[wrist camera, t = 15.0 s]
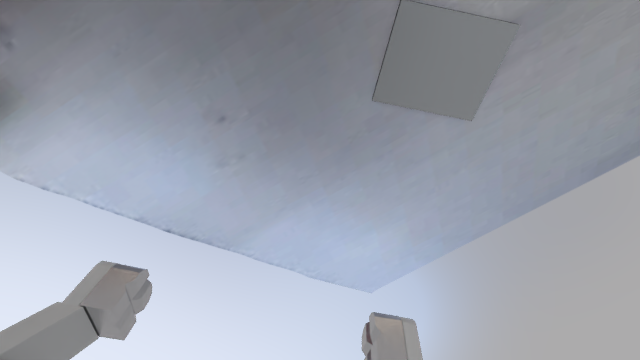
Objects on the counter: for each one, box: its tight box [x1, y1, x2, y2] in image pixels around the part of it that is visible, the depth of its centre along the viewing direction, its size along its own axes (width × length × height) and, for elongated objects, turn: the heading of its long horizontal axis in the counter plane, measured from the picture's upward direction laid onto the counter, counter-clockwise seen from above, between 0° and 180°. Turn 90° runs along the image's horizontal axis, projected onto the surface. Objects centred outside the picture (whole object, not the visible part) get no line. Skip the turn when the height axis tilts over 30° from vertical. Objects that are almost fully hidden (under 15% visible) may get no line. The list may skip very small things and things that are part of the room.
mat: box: [372, 0, 521, 121], centre depth 37 cm, size 14×12×1 cm
